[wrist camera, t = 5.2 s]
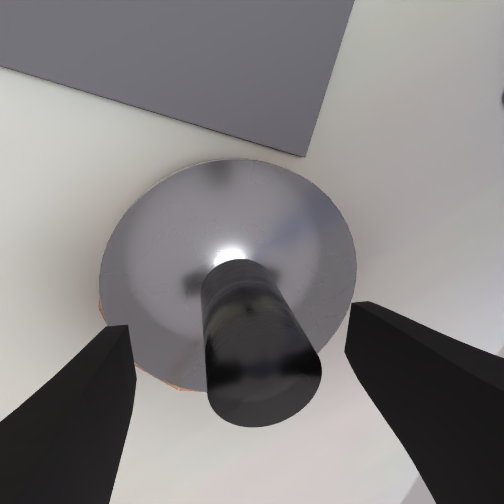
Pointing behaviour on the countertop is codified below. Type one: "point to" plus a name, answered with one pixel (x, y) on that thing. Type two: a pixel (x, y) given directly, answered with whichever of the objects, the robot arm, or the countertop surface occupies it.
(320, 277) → the lid
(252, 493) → the countertop surface
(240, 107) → the mat
